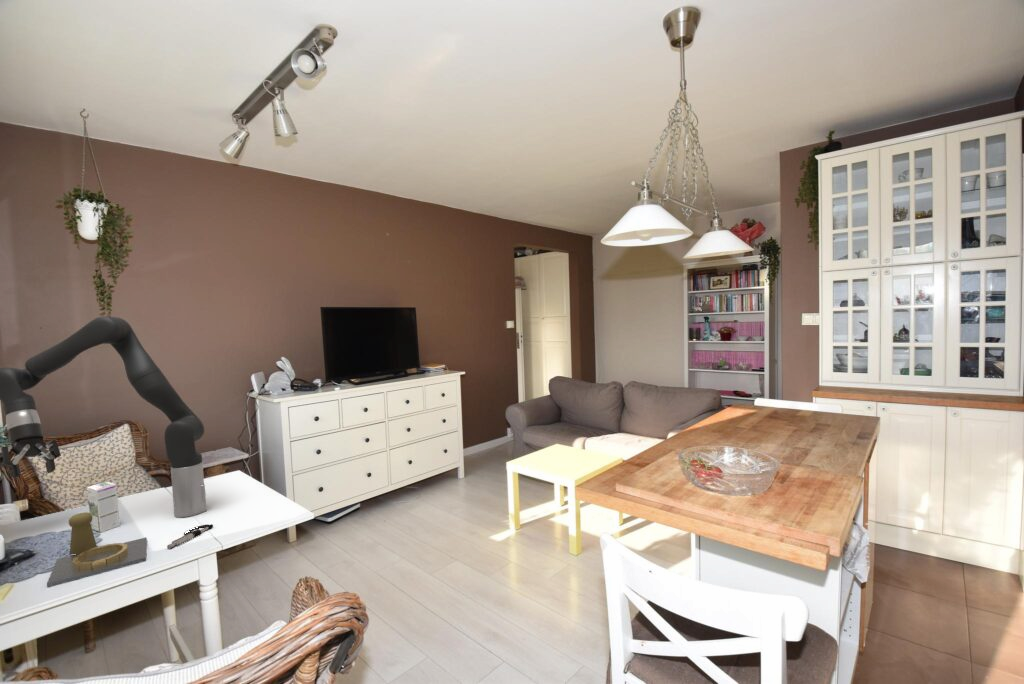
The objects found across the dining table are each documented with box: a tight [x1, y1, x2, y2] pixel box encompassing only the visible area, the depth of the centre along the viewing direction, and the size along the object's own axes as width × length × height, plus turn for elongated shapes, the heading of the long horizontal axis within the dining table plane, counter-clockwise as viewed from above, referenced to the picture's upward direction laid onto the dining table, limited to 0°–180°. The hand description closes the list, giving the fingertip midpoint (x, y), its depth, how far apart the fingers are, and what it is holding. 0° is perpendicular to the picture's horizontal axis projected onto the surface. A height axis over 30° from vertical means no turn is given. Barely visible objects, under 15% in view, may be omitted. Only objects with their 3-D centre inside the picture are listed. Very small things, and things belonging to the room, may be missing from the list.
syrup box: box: [86, 481, 121, 533], centre depth 156 cm, size 6×6×14 cm
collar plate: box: [46, 537, 148, 588], centre depth 133 cm, size 20×16×2 cm
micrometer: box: [166, 523, 214, 550], centre depth 147 cm, size 15×7×2 cm, turn 164°
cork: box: [68, 511, 98, 555], centre depth 141 cm, size 6×6×11 cm
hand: (34, 474), depth 149 cm, fingers open, 8 cm apart
